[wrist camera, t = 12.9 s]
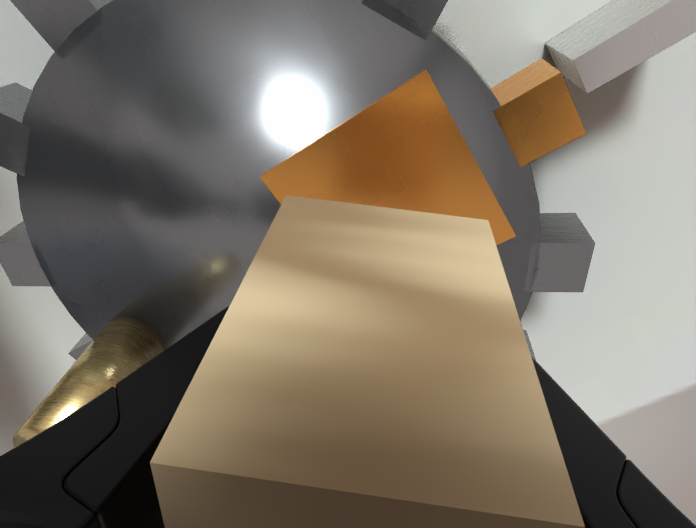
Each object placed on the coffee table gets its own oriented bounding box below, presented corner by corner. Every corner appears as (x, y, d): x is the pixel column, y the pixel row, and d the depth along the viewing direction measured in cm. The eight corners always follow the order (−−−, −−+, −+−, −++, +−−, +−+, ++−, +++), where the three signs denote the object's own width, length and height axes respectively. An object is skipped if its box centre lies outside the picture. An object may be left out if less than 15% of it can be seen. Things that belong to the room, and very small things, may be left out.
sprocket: (252, 462, 25) (204, 614, 19) (-96, 150, 17) (-354, 247, 11) (654, 322, 18) (775, 499, 12) (371, -341, 10) (318, -783, 4)
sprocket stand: (167, 312, 23) (137, 356, 20) (107, -76, 14) (43, -84, 12) (520, 360, 22) (535, 412, 19) (669, -19, 14) (727, -14, 11)
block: (283, 344, 12) (189, 638, 7) (286, 195, 9) (149, 462, 4) (447, 366, 11) (479, 684, 6) (488, 219, 9) (585, 526, 4)
